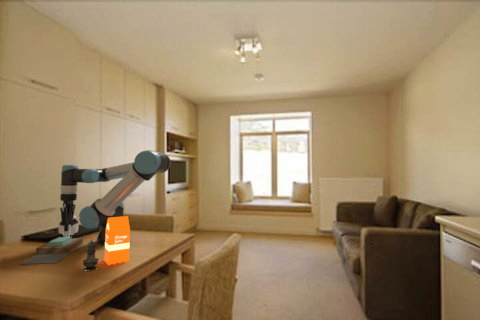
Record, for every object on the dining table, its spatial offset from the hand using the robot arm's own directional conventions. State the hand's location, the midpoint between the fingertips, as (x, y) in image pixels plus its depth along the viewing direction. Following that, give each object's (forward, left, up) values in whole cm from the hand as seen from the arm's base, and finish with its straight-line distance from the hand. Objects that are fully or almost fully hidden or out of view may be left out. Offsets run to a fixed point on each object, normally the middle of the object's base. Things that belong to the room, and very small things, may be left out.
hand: (66, 236), depth 148 cm
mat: (-1, +23, -5) cm, 23 cm away
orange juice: (-33, +30, -5) cm, 45 cm away
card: (0, +7, -1) cm, 7 cm away
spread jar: (+8, -22, -5) cm, 24 cm away
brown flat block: (0, +7, -5) cm, 8 cm away
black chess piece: (-25, +39, -5) cm, 46 cm away
